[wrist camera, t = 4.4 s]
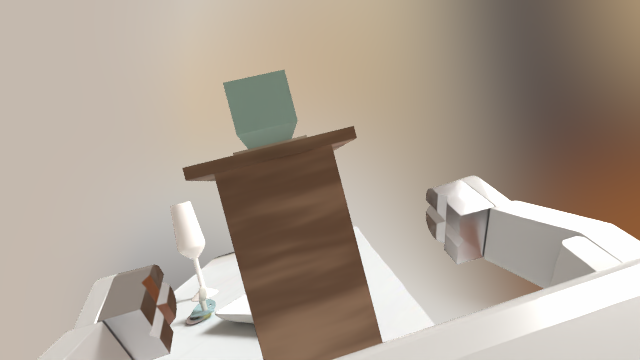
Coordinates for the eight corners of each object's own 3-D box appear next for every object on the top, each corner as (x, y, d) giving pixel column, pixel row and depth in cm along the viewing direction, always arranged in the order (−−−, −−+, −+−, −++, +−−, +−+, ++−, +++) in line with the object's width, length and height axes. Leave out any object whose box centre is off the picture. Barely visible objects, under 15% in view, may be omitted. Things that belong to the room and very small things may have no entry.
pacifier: (184, 330, 66) (215, 319, 67) (174, 300, 65) (205, 289, 67) (190, 316, 73) (217, 306, 74) (181, 289, 72) (209, 279, 74)
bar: (297, 120, 19) (284, 69, 19) (236, 135, 19) (223, 82, 19) (287, 151, 38) (280, 125, 38) (256, 158, 38) (249, 132, 38)
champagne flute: (205, 290, 90) (181, 203, 89) (224, 288, 87) (199, 198, 86) (185, 302, 84) (160, 208, 83) (204, 300, 81) (178, 203, 80)
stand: (429, 424, 29) (353, 123, 28) (267, 485, 27) (181, 165, 26) (377, 341, 43) (326, 144, 43) (271, 377, 42) (216, 171, 41)
